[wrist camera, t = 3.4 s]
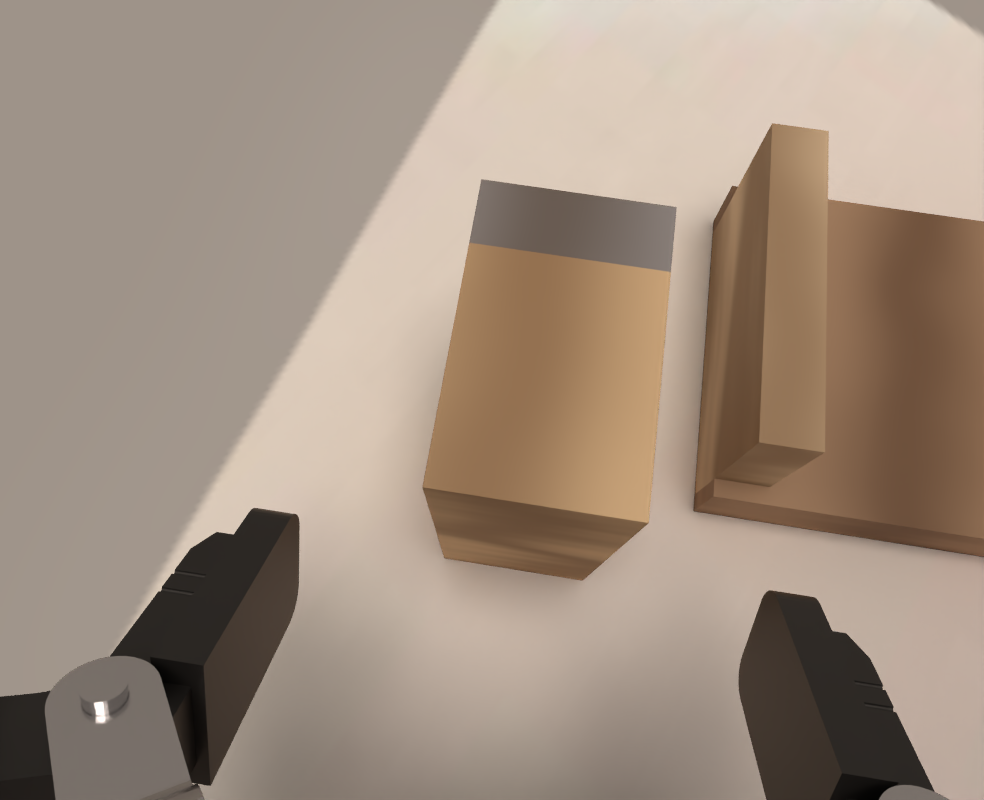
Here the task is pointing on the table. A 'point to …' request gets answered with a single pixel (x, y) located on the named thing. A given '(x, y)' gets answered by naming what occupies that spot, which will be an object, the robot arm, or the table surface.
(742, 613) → the table surface
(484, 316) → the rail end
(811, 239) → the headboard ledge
